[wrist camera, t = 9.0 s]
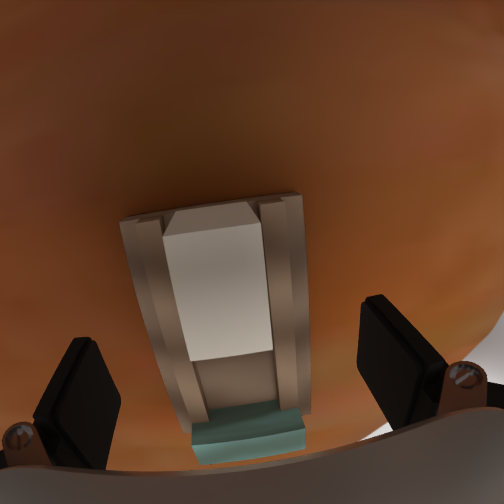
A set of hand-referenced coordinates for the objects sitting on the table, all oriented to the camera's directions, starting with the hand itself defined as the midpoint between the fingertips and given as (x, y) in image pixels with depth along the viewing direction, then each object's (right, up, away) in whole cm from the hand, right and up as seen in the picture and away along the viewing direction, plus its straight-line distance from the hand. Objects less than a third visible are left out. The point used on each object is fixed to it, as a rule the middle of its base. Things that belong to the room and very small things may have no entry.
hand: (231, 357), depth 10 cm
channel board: (-1, -3, +14) cm, 15 cm away
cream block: (-2, +3, +11) cm, 11 cm away
